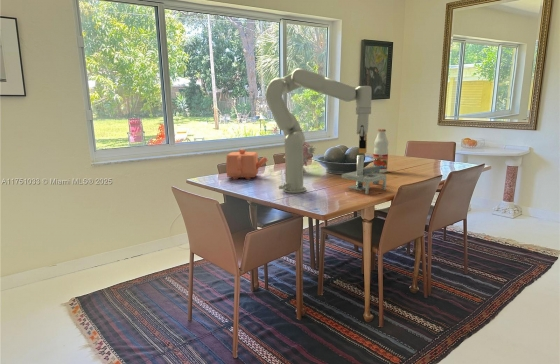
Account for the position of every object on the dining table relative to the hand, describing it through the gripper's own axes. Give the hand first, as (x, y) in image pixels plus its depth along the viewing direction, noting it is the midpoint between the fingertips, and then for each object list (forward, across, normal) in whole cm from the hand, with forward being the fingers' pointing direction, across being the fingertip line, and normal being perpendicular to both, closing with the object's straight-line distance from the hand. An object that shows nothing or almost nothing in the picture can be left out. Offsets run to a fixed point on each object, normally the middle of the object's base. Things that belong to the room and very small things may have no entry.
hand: (362, 147), depth 191 cm
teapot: (+23, -20, -73) cm, 79 cm away
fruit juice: (+24, -59, +6) cm, 64 cm away
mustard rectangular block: (+3, 0, 0) cm, 3 cm away
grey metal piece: (+24, -8, 0) cm, 25 cm away
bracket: (+24, -17, +2) cm, 29 cm away
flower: (+23, -39, -45) cm, 64 cm away
